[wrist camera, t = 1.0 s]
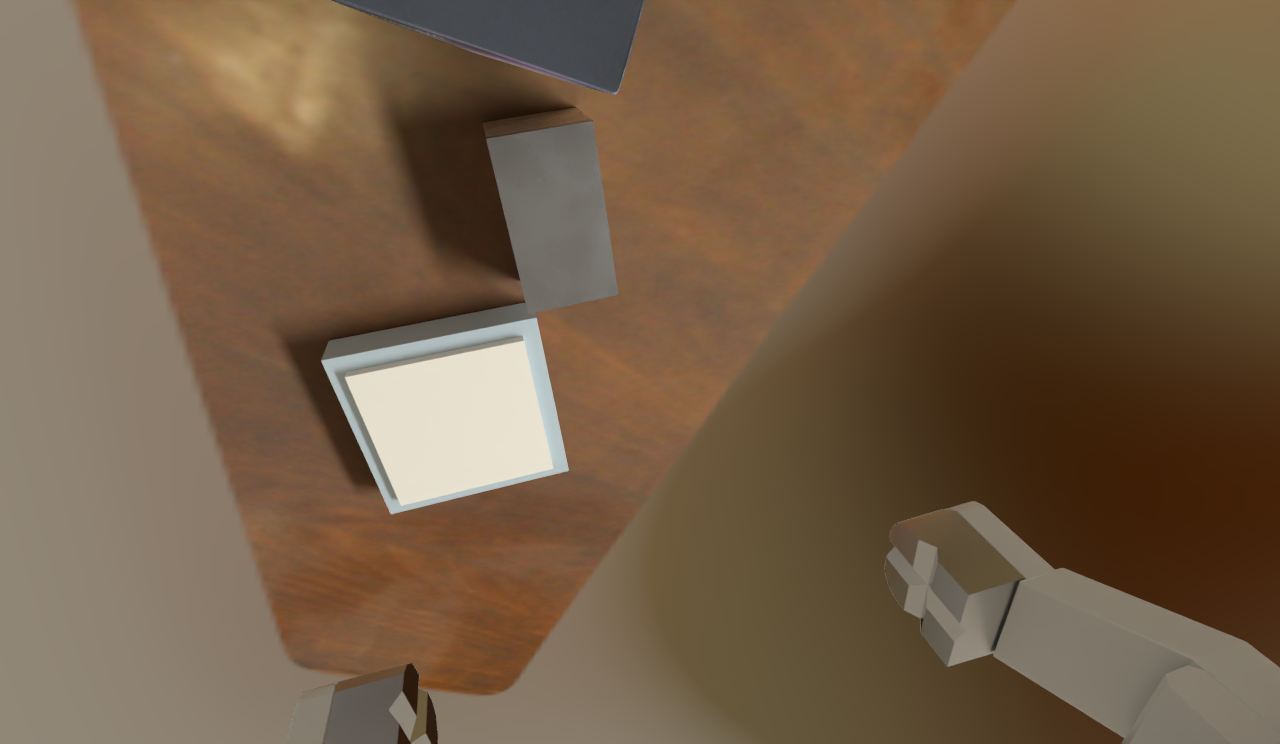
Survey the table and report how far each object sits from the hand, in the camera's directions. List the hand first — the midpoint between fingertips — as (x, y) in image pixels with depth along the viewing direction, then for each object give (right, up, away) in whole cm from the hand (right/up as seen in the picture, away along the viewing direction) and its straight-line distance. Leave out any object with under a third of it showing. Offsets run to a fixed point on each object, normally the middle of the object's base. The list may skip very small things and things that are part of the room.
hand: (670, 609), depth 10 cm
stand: (-12, +2, +29) cm, 31 cm away
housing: (-6, +14, +24) cm, 28 cm away
